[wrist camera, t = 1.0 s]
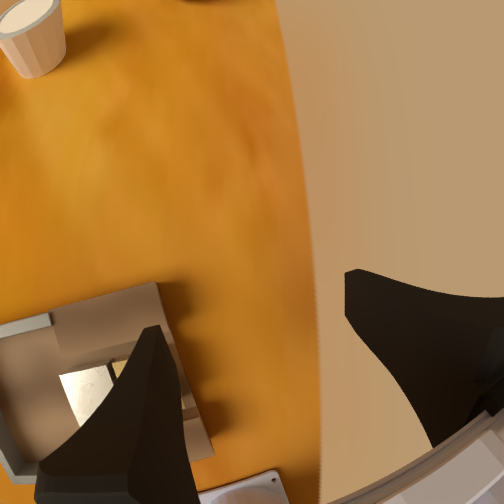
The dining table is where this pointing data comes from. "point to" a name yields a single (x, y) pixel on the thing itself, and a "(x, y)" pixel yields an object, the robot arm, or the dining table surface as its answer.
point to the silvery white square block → (88, 387)
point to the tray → (3, 444)
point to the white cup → (33, 36)
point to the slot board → (76, 354)
